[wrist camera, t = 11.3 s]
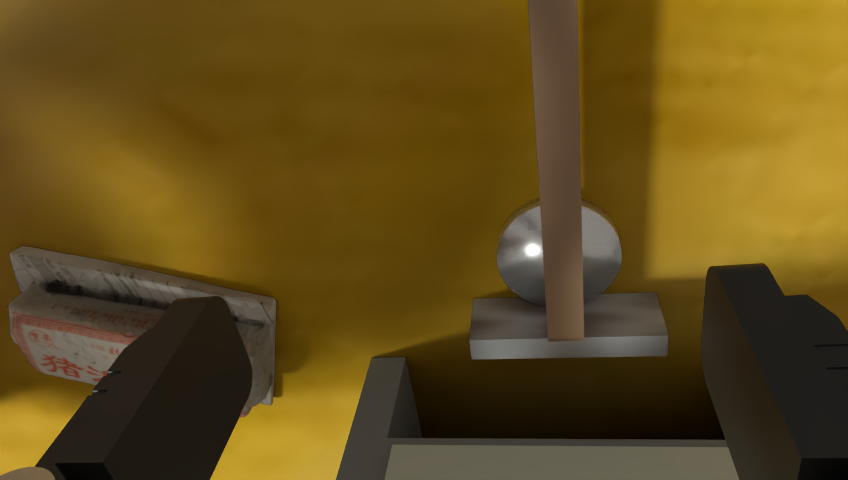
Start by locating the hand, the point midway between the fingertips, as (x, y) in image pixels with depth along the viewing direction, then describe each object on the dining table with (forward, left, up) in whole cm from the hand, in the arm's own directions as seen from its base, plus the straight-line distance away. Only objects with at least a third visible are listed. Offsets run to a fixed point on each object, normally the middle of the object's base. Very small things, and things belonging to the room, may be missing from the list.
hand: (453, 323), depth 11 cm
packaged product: (-26, -19, -25) cm, 41 cm away
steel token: (+2, -14, -24) cm, 28 cm away
